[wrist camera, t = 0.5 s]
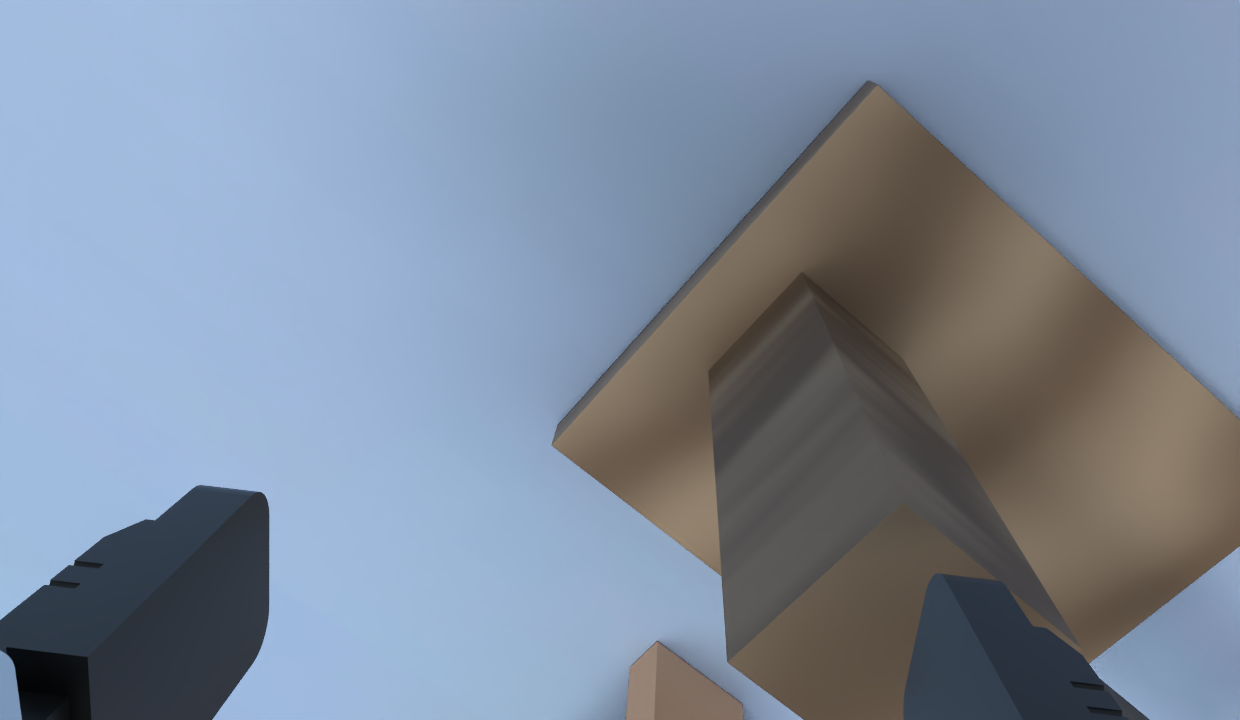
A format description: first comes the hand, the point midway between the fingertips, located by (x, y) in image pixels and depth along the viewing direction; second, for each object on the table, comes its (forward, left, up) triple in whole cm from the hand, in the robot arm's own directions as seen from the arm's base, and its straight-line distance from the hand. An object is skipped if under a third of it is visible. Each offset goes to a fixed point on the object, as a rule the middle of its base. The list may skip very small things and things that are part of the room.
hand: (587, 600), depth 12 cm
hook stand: (+5, +12, -18) cm, 23 cm away
